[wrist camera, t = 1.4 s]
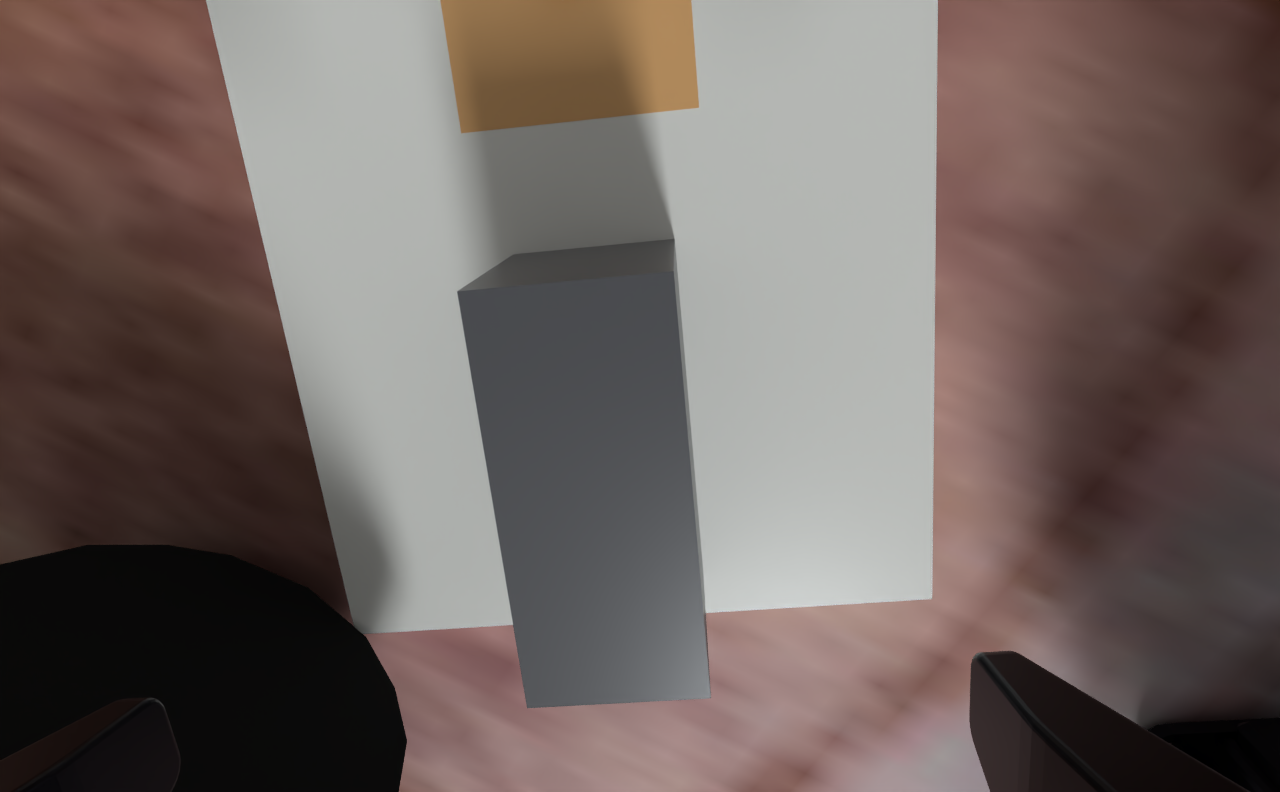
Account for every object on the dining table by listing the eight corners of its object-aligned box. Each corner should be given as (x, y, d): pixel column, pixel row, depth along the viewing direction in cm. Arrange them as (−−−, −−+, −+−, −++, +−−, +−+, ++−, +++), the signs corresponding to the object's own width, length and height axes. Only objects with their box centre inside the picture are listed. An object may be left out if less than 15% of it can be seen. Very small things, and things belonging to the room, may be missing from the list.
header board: (917, 573, 20) (969, 664, 16) (373, 607, 21) (311, 701, 17) (921, -584, 13) (1008, -843, 10) (133, -453, 14) (-42, -646, 11)
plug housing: (703, 572, 19) (710, 698, 14) (560, 581, 19) (527, 708, 15) (674, 239, 17) (673, 271, 12) (513, 254, 17) (456, 291, 12)
